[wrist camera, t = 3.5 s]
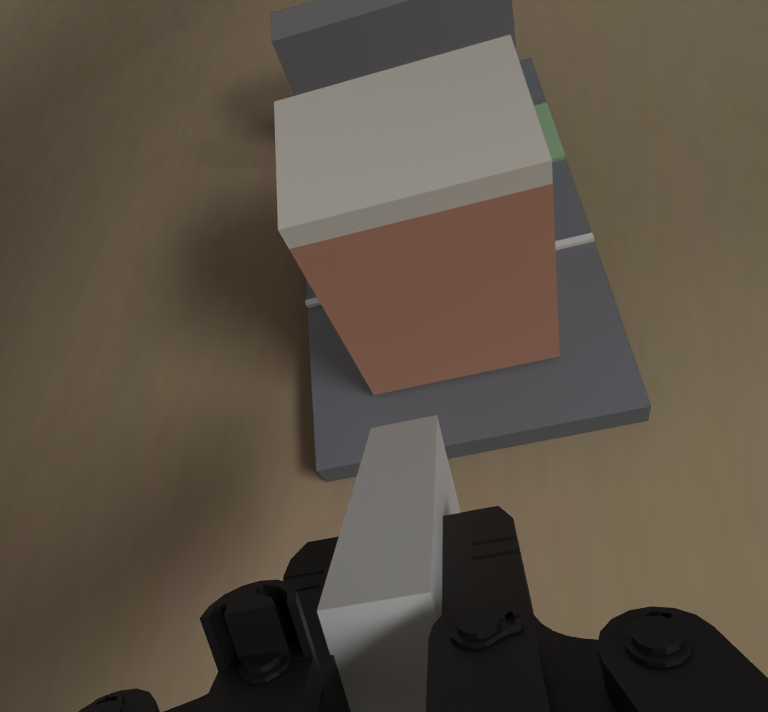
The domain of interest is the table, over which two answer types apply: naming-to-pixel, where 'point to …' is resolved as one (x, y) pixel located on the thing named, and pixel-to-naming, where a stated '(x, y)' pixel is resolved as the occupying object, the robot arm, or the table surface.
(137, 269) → the table surface
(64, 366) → the table surface
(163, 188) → the table surface
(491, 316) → the orange box with lid
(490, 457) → the table surface
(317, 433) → the base
